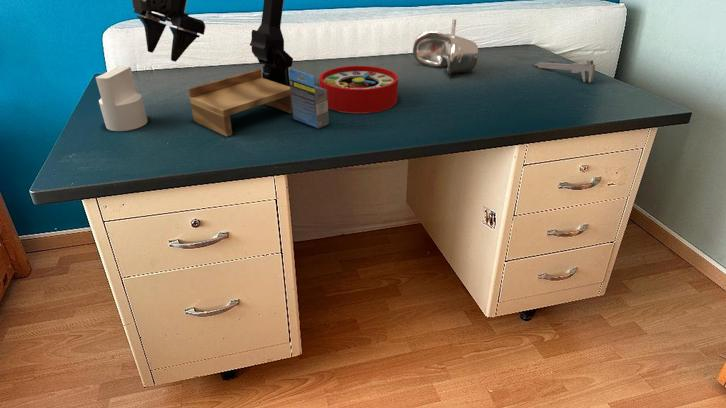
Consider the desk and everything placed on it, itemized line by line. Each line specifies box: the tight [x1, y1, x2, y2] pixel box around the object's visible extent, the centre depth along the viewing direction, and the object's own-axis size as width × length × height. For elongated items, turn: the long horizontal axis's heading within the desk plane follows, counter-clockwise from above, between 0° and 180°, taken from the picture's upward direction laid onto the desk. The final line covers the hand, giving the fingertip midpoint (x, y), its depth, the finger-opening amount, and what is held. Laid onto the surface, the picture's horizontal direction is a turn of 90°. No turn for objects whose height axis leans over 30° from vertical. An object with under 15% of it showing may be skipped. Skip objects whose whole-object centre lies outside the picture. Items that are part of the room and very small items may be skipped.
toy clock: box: [318, 65, 399, 114], centre depth 129 cm, size 20×6×20 cm
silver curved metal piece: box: [412, 18, 479, 76], centre depth 150 cm, size 18×11×14 cm, turn 33°
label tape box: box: [288, 67, 330, 129], centre depth 114 cm, size 9×4×12 cm, turn 47°
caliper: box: [534, 59, 596, 83], centre depth 147 cm, size 20×1×6 cm, turn 31°
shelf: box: [187, 68, 293, 137], centre depth 118 cm, size 20×13×8 cm, turn 138°
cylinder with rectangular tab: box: [95, 65, 149, 132], centre depth 113 cm, size 9×9×12 cm
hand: (161, 56), depth 113 cm, fingers open, 9 cm apart
